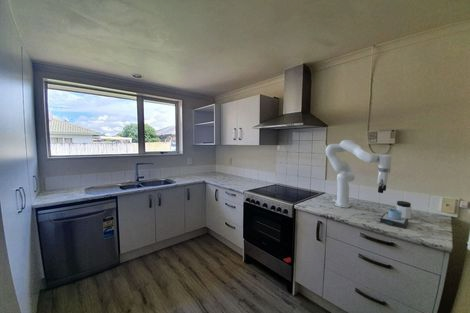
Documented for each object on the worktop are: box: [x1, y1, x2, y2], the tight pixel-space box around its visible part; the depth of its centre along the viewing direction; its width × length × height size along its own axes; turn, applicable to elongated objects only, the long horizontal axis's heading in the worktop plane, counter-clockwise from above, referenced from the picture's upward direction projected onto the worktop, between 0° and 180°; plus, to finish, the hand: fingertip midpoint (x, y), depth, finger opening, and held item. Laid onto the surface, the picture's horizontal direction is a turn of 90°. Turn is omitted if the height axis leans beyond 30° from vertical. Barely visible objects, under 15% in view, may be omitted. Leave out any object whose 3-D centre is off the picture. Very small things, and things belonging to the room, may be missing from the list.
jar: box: [395, 200, 412, 220], centre depth 148 cm, size 9×8×12 cm
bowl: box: [387, 208, 402, 220], centre depth 138 cm, size 7×7×6 cm
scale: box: [379, 213, 409, 229], centre depth 138 cm, size 14×16×4 cm
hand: (381, 191), depth 147 cm, fingers open, 9 cm apart
